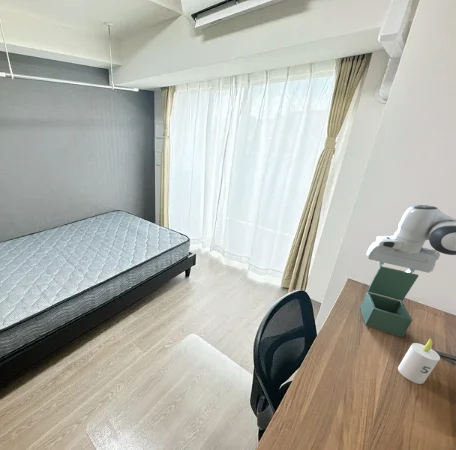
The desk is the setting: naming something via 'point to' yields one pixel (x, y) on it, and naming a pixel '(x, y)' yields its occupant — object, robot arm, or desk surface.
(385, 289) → the box lid
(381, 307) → the box
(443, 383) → the desk surface
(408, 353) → the candle
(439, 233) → the robot arm
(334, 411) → the desk surface
